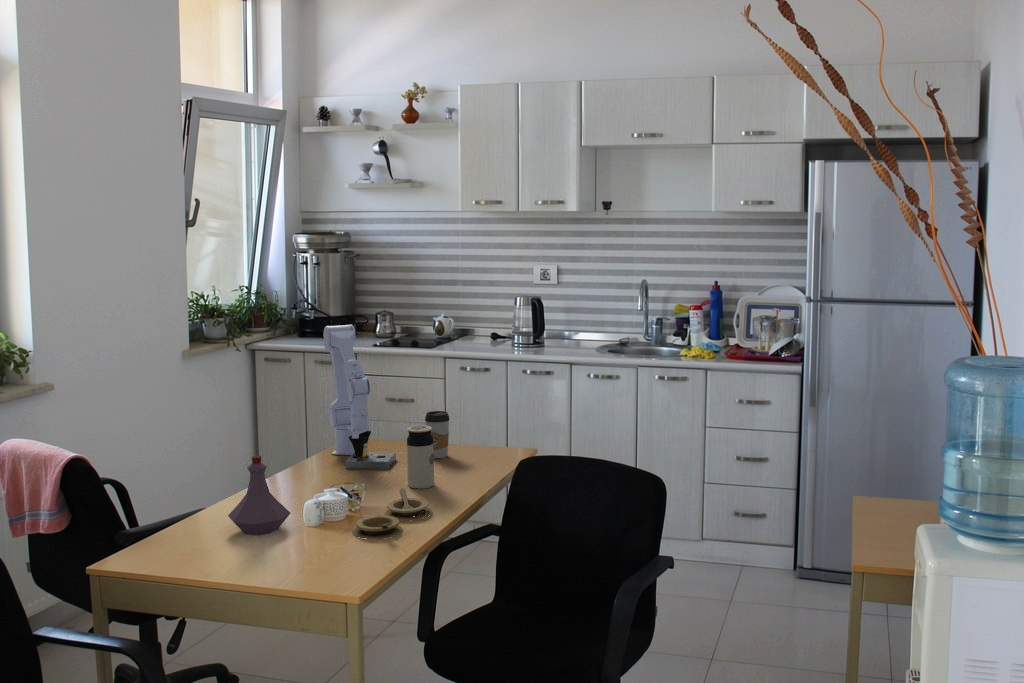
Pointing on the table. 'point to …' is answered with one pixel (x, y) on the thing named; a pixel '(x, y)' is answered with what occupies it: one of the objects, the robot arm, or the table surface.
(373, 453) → the block
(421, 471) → the travel mug
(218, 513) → the table surface
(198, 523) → the table surface
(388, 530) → the tableware set
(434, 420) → the coffee cup
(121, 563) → the table surface
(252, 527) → the flask
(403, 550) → the table surface
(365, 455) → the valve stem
